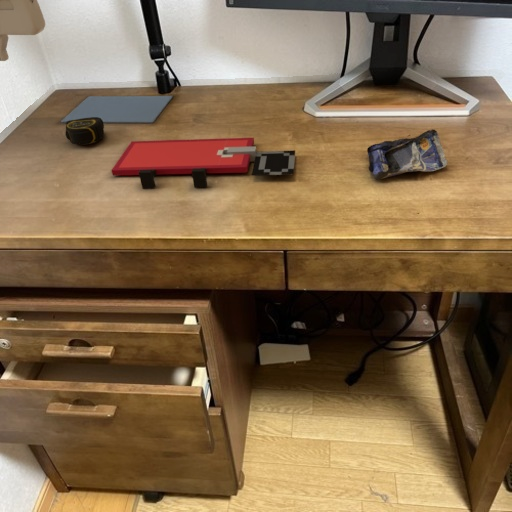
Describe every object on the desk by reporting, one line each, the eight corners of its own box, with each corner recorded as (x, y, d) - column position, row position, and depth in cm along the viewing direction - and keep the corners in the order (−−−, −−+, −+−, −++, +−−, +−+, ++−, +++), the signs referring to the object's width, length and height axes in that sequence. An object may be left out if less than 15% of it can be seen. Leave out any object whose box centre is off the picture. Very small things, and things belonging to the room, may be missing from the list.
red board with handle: (293, 185, 75) (296, 143, 87) (292, 169, 74) (295, 128, 86) (105, 189, 79) (133, 148, 91) (101, 173, 77) (129, 134, 89)
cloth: (60, 122, 102) (60, 121, 102) (89, 97, 113) (88, 96, 112) (153, 123, 99) (152, 121, 98) (173, 97, 109) (172, 95, 109)
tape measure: (106, 131, 97) (101, 112, 95) (105, 145, 92) (100, 126, 89) (70, 136, 96) (65, 117, 94) (67, 151, 91) (61, 132, 89)
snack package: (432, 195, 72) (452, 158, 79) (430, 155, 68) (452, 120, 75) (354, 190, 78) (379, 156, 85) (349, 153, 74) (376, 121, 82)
